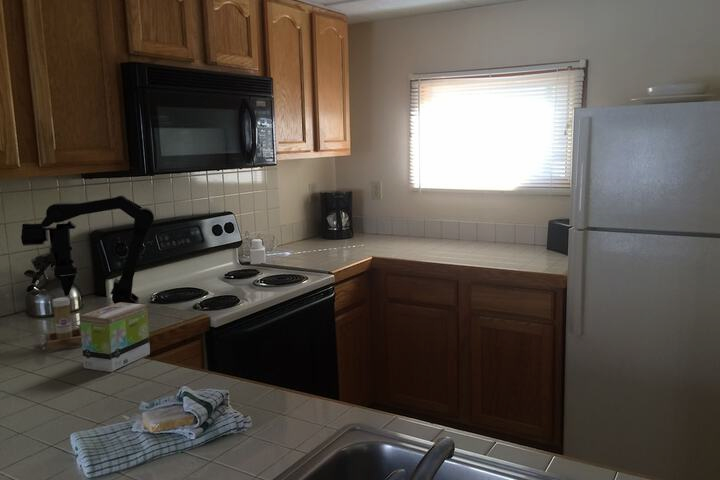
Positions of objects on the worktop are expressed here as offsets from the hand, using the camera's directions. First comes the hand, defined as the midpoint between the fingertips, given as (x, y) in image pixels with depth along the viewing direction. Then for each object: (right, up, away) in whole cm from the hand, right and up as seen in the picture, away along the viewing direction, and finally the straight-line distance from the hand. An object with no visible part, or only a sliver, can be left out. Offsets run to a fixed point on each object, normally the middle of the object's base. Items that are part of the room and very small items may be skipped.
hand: (65, 292), depth 191 cm
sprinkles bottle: (+4, -14, -9) cm, 17 cm away
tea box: (+27, -17, -25) cm, 40 cm away
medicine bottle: (+42, +5, +110) cm, 118 cm away
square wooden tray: (+5, -15, -9) cm, 18 cm away
